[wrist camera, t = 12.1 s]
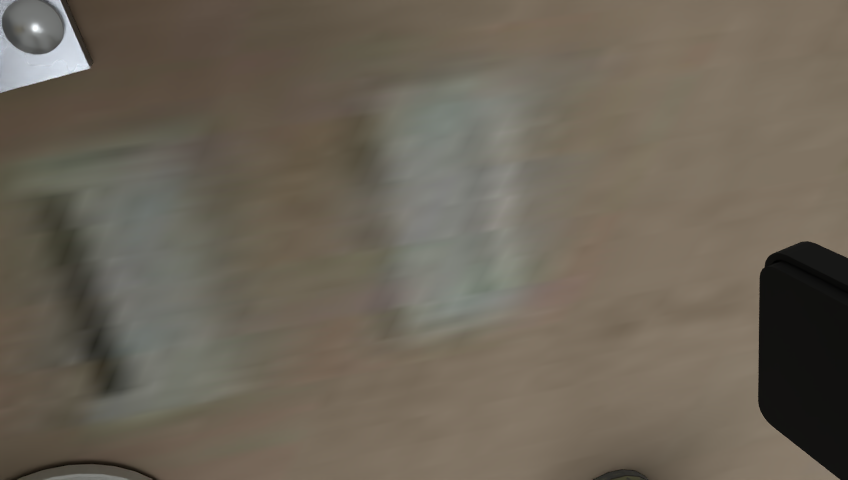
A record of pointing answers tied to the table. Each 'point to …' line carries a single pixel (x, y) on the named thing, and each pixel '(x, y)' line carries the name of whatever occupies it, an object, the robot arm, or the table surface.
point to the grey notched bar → (38, 42)
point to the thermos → (622, 475)
